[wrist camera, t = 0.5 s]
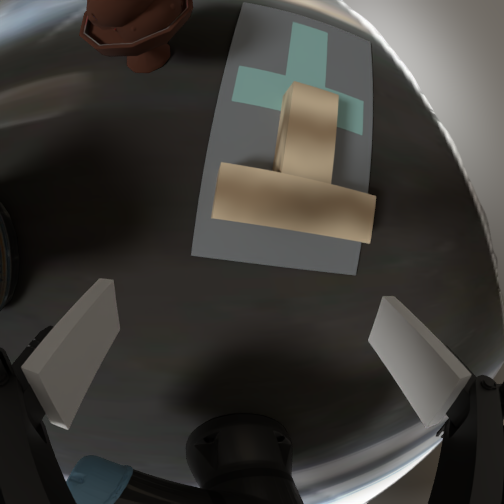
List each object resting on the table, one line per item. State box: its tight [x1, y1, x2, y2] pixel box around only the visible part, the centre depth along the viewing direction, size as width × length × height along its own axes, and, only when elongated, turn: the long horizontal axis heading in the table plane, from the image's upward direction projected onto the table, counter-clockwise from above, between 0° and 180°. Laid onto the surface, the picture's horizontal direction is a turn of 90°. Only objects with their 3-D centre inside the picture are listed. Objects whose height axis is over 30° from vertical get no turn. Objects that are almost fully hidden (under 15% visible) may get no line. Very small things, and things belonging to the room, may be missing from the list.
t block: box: [211, 81, 376, 244], centre depth 26 cm, size 15×16×4 cm
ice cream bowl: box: [79, 0, 193, 73], centre depth 17 cm, size 11×11×15 cm
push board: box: [191, 2, 373, 275], centre depth 28 cm, size 34×19×1 cm, turn 171°
